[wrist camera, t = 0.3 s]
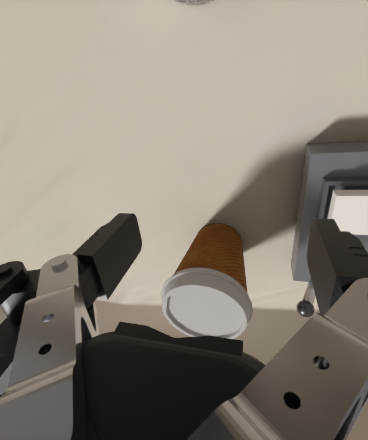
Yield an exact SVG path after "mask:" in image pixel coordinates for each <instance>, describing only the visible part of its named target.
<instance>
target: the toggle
mask: <svg viewBox="0 0 368 440" xmlns="http://www.w3.org/2000/svg"><path fill="white" fill-rule="evenodd" d="M315 296H316V295H315V291H314V288H313V284H312V280H311V277H310V280H309V283H308V286H307V289H306V292H305V294H304V297H303V300H302V301H300V302H299V303H298V304H297V311H298V313H299V314H300V315H301V316H303V317H310V316H312V315H313V314H314V306H313V302H314V299H315Z"/></svg>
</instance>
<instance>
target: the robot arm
mask: <svg viewBox="0 0 368 440" xmlns="http://www.w3.org/2000/svg"><path fill="white" fill-rule="evenodd" d="M176 1H178V2H180V3H184V4H188V5H200V4H205V3H207V2H210V1H213V0H176ZM141 247H142V240H141V235H140V231H139V226H138V222H137V218H136V216H135V214H128V213H119V214H118V215H117V216H116V217H114V218H113V219H112V220H111V221H110V222H109V223H108V224H106V225H104V226H102V227H100V228H99V229H98V230H97V231H96V232H95V233H94V235H92V236H91V237H90V238H89V240H87V241H86V242H85V243H84V244H83V245H82V246H81V247H79V248H78V249H77V250H76V251H75V252H74V253H73V254H72V255H71V254H65V255H61V256H57V257H55V258H53V259H51V260H49V261H48V262H46V263H45V264H44V265H43V266H42V268H41V269H38V270H31V271H27V270H26V268H25V266H24V264H23V263H22V262H20V261H13V262H8V263H5V264H2V265H0V306H1V308H2V310H3V311H4V313H5V314H6V316H7V318H6V319H5V320H4V321H3V322H2V323H1V324H0V376H1V375H2V374H3V373H4V371H5V370H6V369H7V368H8V366H9V365H10V364H11V363H12V361H13V364H12V369H11V373H10V378H9V383H8V387H7V390H6V392H5V393H3V394H2V395H0V440H346V439H347V437H348V435H349V433H350V431H351V429H352V427H353V425H354V423H355V421H356V419H357V417H358V416H359V414H360V412H361V410H362V409H363V407H364V405H365V403H366V402H367V400H368V252H367V251H366V249H364V246H363V244H362V243H361V241H360V239H358V238H357V237H356V236H354V235H353V234H351V233H350V232H347V231H340V229H339V227H338V225H337V224H336V222H335V220H334V219H316V218H313V220H312V222H311V228H310V235H309V242H308V248H307V264H308V268H309V272H310V276H311V280H312V284H313V288H314V291H315V295H316V299H317V303H318V307H319V311H320V313H316V314H314V315H313V316H312V317H311V318H310V319H309V320H308V321H307V322H306V323H305V324H304V325H303V327H301V328H300V330H299V331H298V332H297V333H296V334H295V335H294V336H293V337H292V338H291V339H290V340H289V341H288V342H287V343H286V344H285V345H284V346H283V348H282V349H281V350H280V351H279V352H278V353H277V354H276V355H275V356H274V357H273V359H271V360H270V361H269V363H267V365H265V364H263V363H262V362H260V361H259V360H258V359H256V358H254V357H252V356H251V355H248V354H246V353H244V352H243V341H241V340H234V339H228V338H222V337H215V336H198V337H185V338H173V337H170V336H168V335H166V334H164V333H161V332H159V331H157V330H155V329H153V328H150V327H148V326H144V325H138V324H131V323H125V322H119V324H118V326H117V328H116V330H115V331H114V332H108V333H104V334H101V335H99V328H98V321H97V313H96V306H95V304H94V301H95V300H96V299H105V300H108V299H109V297H110V296H111V294H112V293H113V291H114V290H115V288H116V287H117V285H118V284H119V282H120V281H121V279H122V278H123V276H124V275H125V273H126V272H127V271H128V269H129V268H130V266H131V265H132V263H133V262H134V260H135V259H136V257H137V256H138V254H139V253H140V251H141Z"/></svg>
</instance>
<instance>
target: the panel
mask: <svg viewBox="0 0 368 440" xmlns="http://www.w3.org/2000/svg"><path fill="white" fill-rule="evenodd" d="M333 190H368V141H359V142H340V143H320V144H306V151H305V159H304V166H303V174H302V182H301V190H300V198H299V205H298V213H297V221H296V229H295V237H294V245H293V252H292V260H291V267H292V274H293V280H295V281H306V282H309V280H310V277H311V276H310V272H309V268H308V264H307V248H308V242H309V235H310V228H311V222H312V220H313V218H316V219H327V218H328V213H329V208H330V203H331V198H332V193H333ZM354 236H356V237H357V238H358V239H360V241H361V243H362V244H363V246H364V249H366V251H367V252H368V235H354Z"/></svg>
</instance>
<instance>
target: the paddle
mask: <svg viewBox="0 0 368 440" xmlns="http://www.w3.org/2000/svg"><path fill="white" fill-rule="evenodd" d="M327 219H334V220H335V222H336V224H337V225H338V227H339V229H340V231H347V232H350V233H351V234H353V235H368V190H333V193H332V198H331V203H330V208H329V213H328V218H327Z"/></svg>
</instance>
